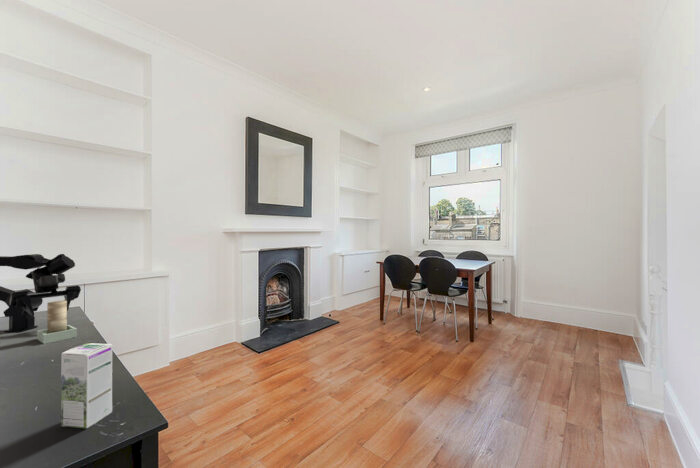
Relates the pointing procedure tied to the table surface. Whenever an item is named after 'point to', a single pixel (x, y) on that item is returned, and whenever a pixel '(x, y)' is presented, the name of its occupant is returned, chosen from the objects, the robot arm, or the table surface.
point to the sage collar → (56, 335)
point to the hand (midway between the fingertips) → (50, 312)
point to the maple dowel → (56, 316)
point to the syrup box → (86, 385)
